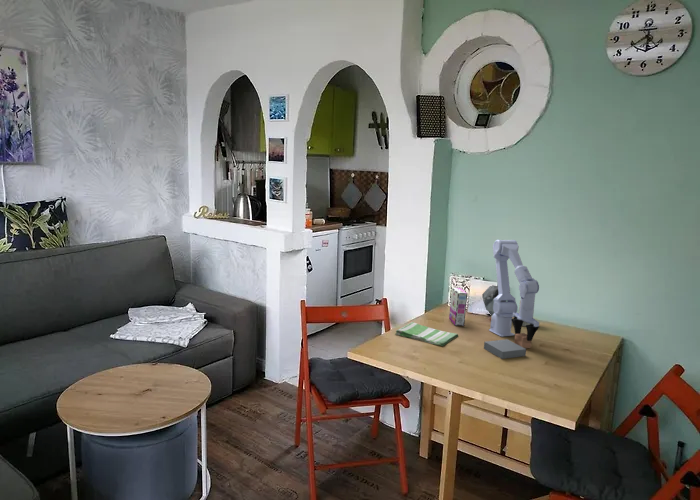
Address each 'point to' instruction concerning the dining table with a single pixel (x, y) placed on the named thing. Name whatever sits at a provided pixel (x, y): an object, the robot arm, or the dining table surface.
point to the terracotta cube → (522, 340)
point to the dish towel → (425, 334)
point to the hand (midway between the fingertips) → (523, 337)
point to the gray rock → (490, 298)
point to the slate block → (504, 348)
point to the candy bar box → (458, 306)
